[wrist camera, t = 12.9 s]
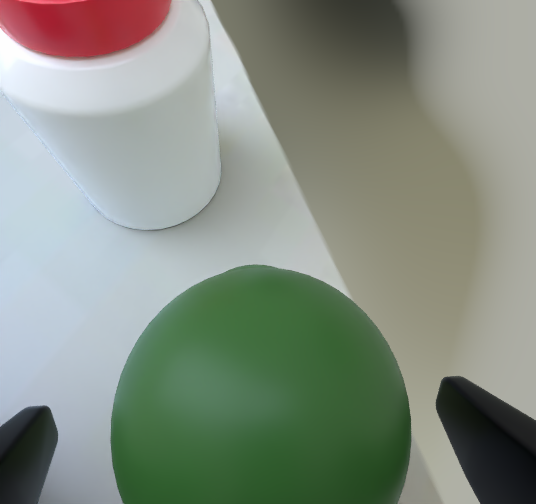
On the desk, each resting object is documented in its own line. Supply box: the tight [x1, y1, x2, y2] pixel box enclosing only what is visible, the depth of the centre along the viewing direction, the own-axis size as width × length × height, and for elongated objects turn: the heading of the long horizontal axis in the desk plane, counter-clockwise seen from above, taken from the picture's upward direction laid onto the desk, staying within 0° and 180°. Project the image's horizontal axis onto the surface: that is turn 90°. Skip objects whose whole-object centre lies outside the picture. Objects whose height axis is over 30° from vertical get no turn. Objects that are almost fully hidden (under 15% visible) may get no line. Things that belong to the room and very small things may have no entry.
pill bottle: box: [0, 0, 221, 230], centre depth 15 cm, size 8×8×11 cm
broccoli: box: [111, 265, 411, 504], centre depth 10 cm, size 6×5×13 cm
